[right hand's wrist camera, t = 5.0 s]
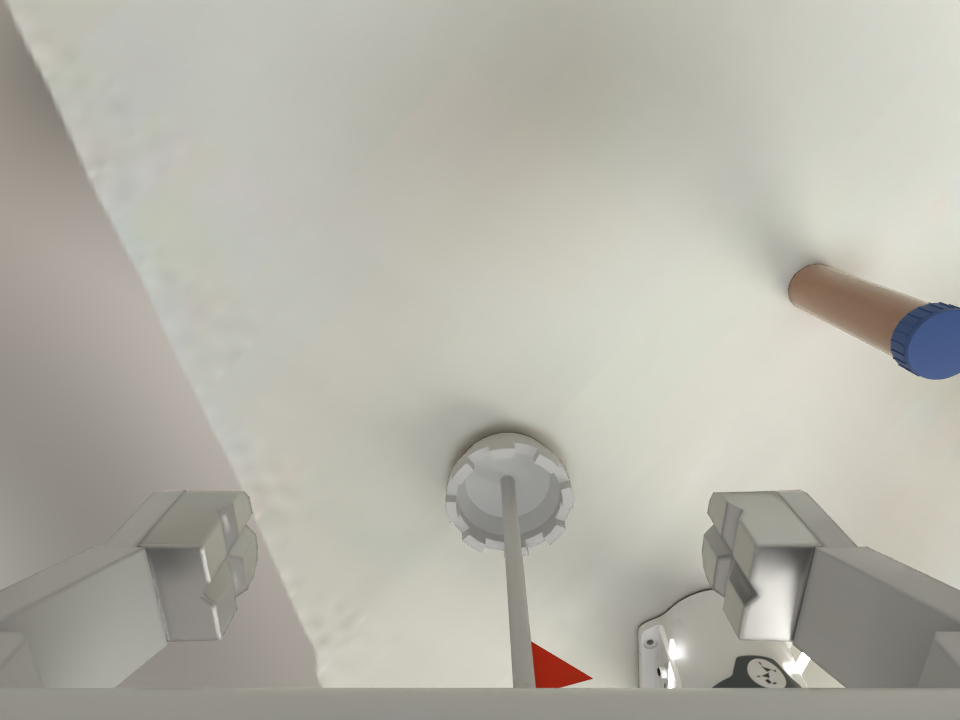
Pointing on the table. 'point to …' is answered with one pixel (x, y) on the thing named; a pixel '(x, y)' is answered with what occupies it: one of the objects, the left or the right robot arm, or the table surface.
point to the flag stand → (514, 531)
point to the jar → (851, 303)
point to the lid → (929, 341)
